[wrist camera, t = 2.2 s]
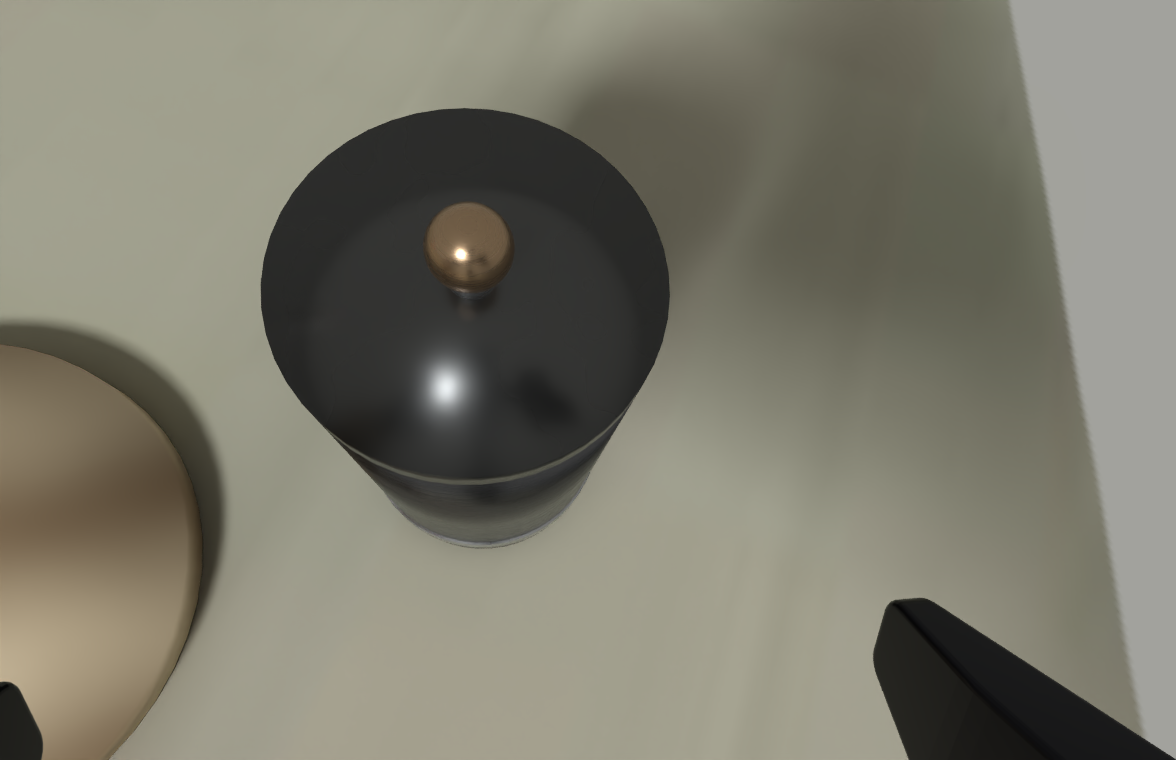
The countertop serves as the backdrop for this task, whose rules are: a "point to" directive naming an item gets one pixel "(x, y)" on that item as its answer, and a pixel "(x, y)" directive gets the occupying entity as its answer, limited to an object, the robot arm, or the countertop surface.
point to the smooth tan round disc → (89, 554)
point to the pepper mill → (467, 314)
